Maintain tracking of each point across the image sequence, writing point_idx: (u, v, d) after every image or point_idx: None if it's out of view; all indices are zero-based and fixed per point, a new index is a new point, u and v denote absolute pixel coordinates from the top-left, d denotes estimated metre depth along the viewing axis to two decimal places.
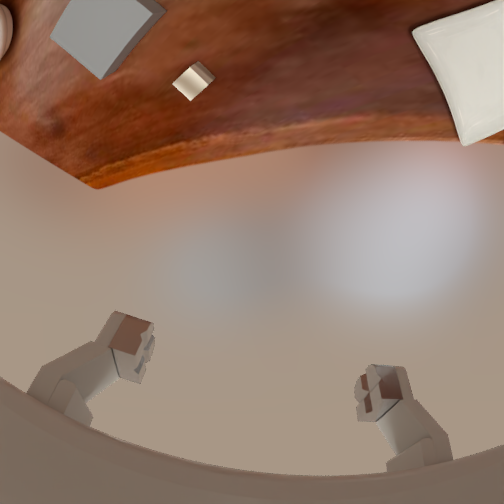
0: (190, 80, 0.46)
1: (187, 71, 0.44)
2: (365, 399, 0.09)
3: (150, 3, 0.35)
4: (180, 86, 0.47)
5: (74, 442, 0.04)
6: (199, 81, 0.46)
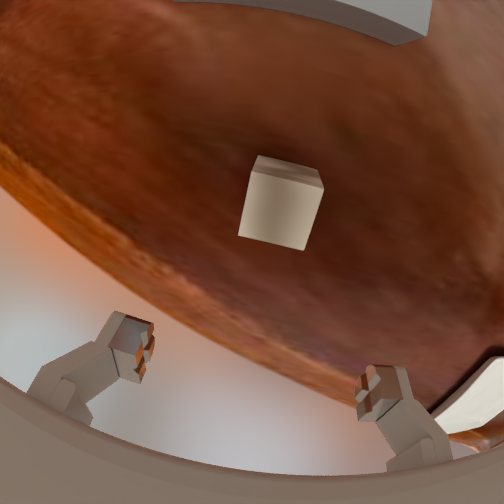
0: (289, 208, 0.20)
1: (311, 190, 0.19)
2: (365, 399, 0.09)
3: None
4: (258, 194, 0.20)
5: (74, 442, 0.04)
6: (300, 228, 0.21)
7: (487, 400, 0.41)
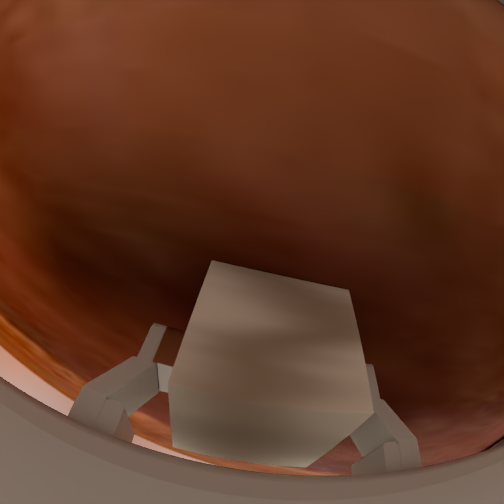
0: (280, 438, 0.07)
1: (338, 418, 0.06)
2: None
3: None
4: (198, 417, 0.07)
5: (74, 442, 0.04)
6: (302, 453, 0.08)
7: None
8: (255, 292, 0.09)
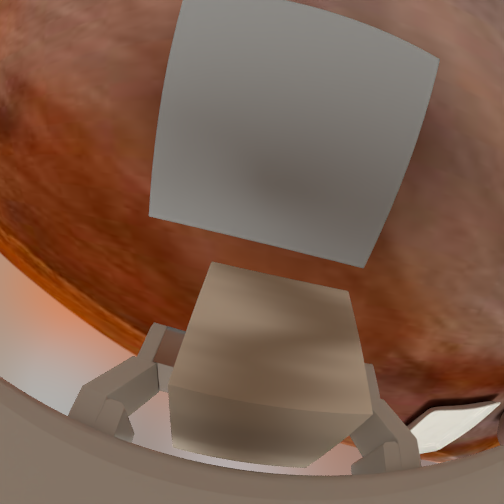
0: (279, 439, 0.07)
1: (338, 419, 0.06)
2: None
3: None
4: (198, 418, 0.07)
5: (74, 442, 0.04)
6: (302, 454, 0.08)
7: (439, 432, 0.54)
8: (255, 293, 0.09)
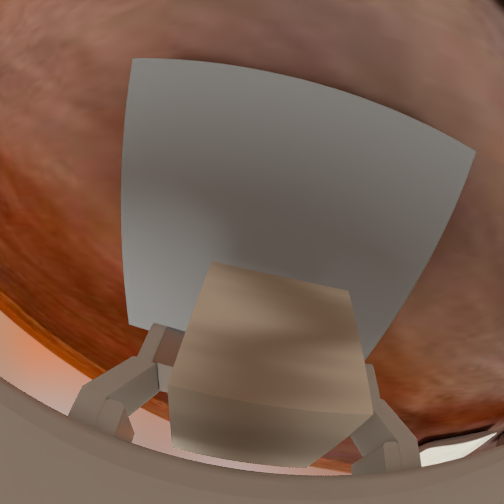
0: (279, 439, 0.07)
1: (338, 419, 0.06)
2: None
3: None
4: (198, 418, 0.07)
5: (74, 442, 0.04)
6: (302, 454, 0.08)
7: (436, 457, 0.51)
8: (255, 293, 0.09)
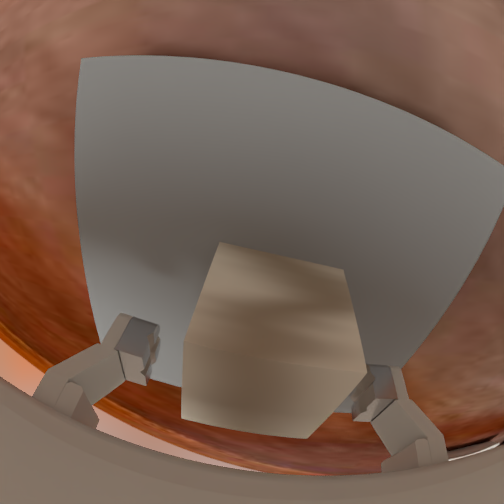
0: (282, 401, 0.08)
1: (335, 376, 0.07)
2: (360, 399, 0.09)
3: None
4: (208, 379, 0.08)
5: (74, 442, 0.04)
6: (303, 420, 0.09)
7: None
8: (259, 269, 0.10)
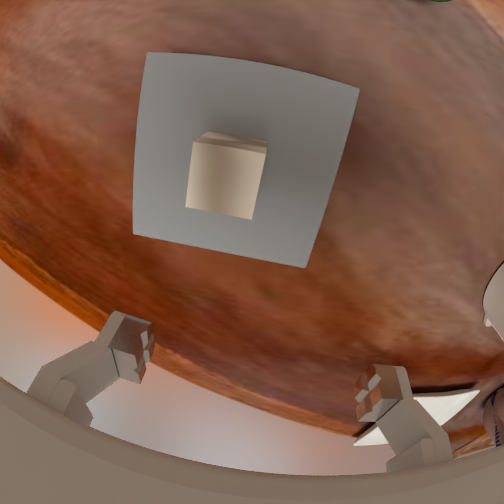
0: (233, 176, 0.20)
1: (252, 156, 0.19)
2: (365, 399, 0.09)
3: None
4: (201, 164, 0.19)
5: (74, 442, 0.04)
6: (246, 196, 0.20)
7: None
8: (225, 136, 0.22)
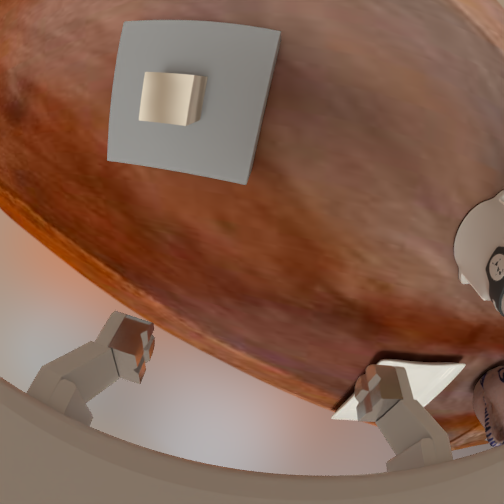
0: (171, 93, 0.23)
1: (185, 77, 0.22)
2: (365, 399, 0.09)
3: (254, 152, 0.34)
4: (150, 86, 0.23)
5: (74, 442, 0.04)
6: (181, 107, 0.24)
7: None
8: None
